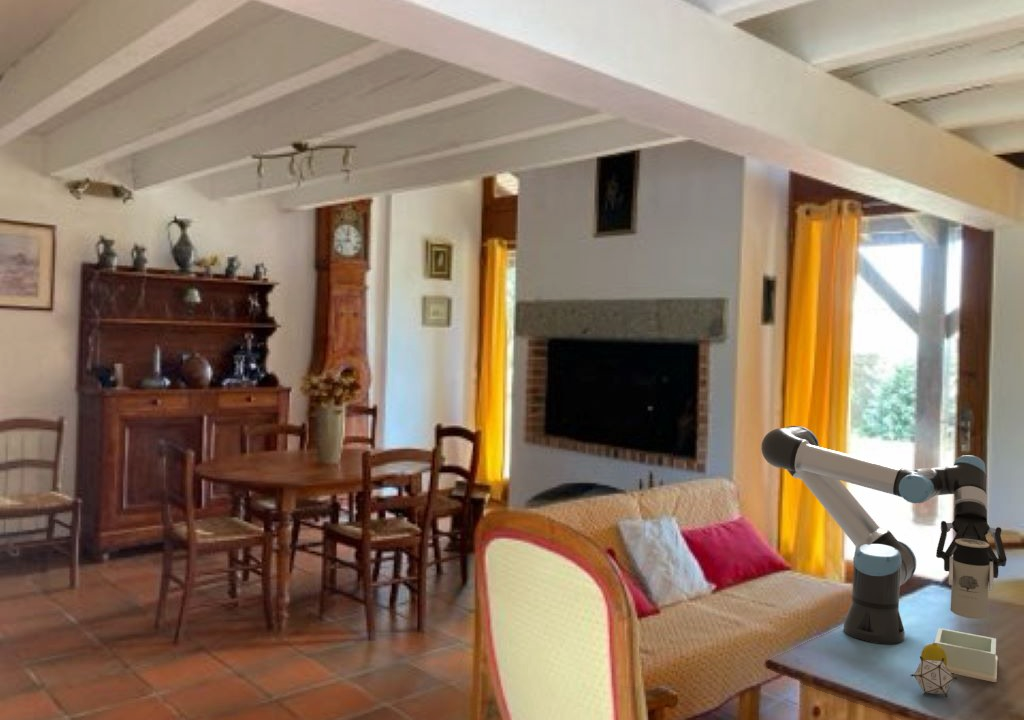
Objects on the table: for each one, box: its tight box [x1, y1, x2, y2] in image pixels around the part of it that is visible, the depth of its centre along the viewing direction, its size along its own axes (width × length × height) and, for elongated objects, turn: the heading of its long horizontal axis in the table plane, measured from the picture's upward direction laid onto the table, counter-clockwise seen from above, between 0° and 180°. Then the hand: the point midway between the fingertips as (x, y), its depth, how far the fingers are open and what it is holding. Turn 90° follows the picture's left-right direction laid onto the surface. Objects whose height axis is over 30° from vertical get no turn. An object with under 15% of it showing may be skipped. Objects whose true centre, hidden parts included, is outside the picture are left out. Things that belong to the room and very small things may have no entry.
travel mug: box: [949, 539, 990, 620], centre depth 208 cm, size 8×8×18 cm
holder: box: [934, 627, 998, 683], centre depth 209 cm, size 18×14×6 cm
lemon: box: [920, 642, 947, 665], centre depth 200 cm, size 6×6×8 cm
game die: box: [910, 655, 959, 699], centre depth 189 cm, size 9×8×10 cm
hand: (970, 584), depth 205 cm, fingers closed on travel mug, 8 cm apart
